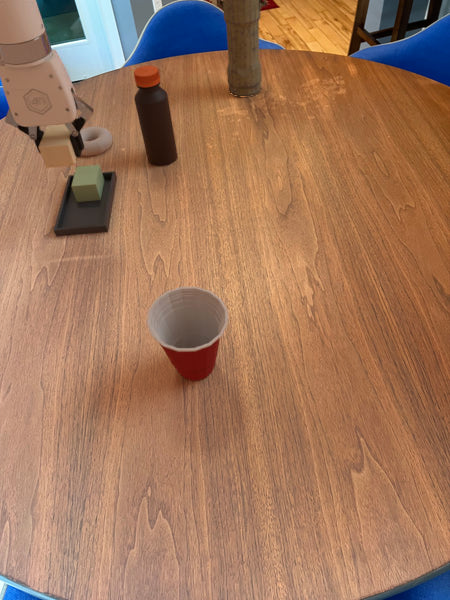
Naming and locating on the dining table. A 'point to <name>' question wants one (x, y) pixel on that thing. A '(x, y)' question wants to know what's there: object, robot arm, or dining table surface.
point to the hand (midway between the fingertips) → (63, 153)
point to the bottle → (154, 117)
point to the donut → (95, 140)
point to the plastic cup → (189, 329)
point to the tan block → (57, 147)
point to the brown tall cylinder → (243, 45)
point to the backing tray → (85, 210)
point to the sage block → (88, 183)
